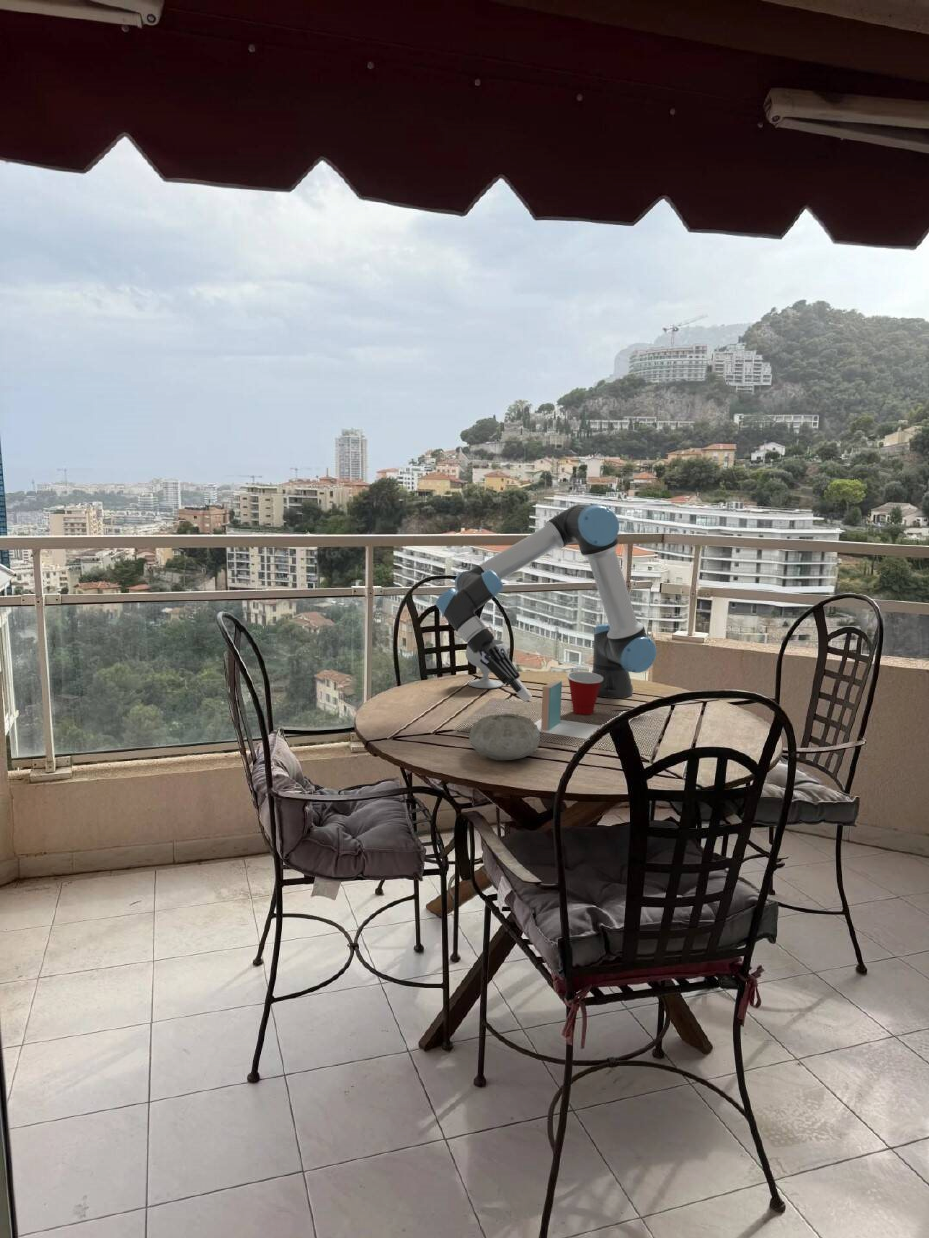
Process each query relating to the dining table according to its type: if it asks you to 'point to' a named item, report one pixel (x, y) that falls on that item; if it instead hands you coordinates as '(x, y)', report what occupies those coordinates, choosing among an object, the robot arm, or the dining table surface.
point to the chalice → (483, 668)
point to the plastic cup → (584, 691)
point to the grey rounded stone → (505, 736)
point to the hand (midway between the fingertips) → (528, 699)
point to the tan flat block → (551, 705)
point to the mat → (570, 729)
